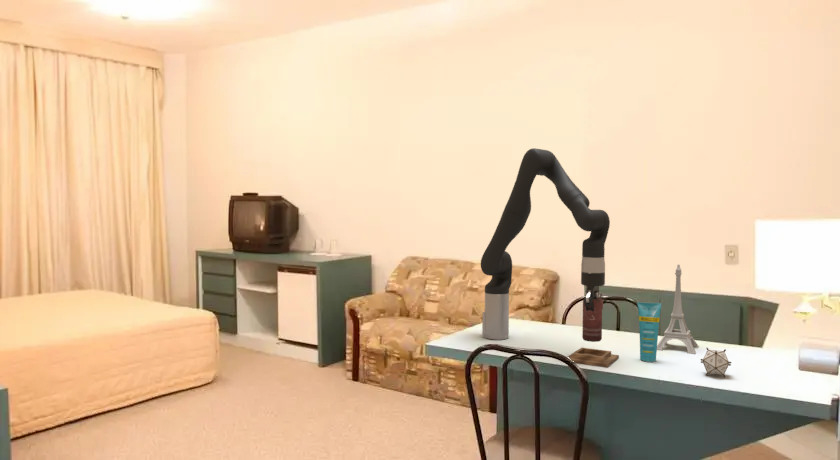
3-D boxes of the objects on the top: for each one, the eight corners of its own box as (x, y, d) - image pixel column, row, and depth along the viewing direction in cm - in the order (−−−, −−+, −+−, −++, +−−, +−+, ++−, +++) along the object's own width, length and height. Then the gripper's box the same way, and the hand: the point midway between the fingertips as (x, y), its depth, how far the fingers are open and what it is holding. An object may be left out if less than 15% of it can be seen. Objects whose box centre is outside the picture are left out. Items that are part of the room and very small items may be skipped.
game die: (707, 386, 192) (689, 356, 196) (733, 376, 192) (714, 346, 197) (716, 379, 184) (697, 348, 188) (743, 368, 184) (723, 337, 189)
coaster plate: (564, 361, 206) (564, 354, 206) (577, 352, 218) (577, 345, 218) (607, 367, 199) (607, 359, 199) (618, 358, 211) (618, 350, 211)
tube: (636, 361, 207) (637, 302, 206) (636, 357, 212) (637, 300, 211) (660, 363, 205) (661, 304, 204) (659, 359, 209) (661, 301, 209)
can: (603, 342, 205) (603, 299, 204) (582, 341, 206) (583, 298, 206) (601, 338, 211) (602, 296, 210) (582, 337, 212) (582, 295, 211)
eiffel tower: (659, 342, 235) (661, 262, 234) (698, 346, 229) (700, 264, 227) (654, 350, 223) (655, 265, 222) (695, 354, 217) (697, 267, 216)
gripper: (587, 268, 215) (586, 319, 216) (575, 271, 204) (574, 325, 205) (609, 269, 211) (609, 321, 212) (598, 273, 200) (598, 327, 201)
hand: (592, 323), depth 208 cm, fingers closed
